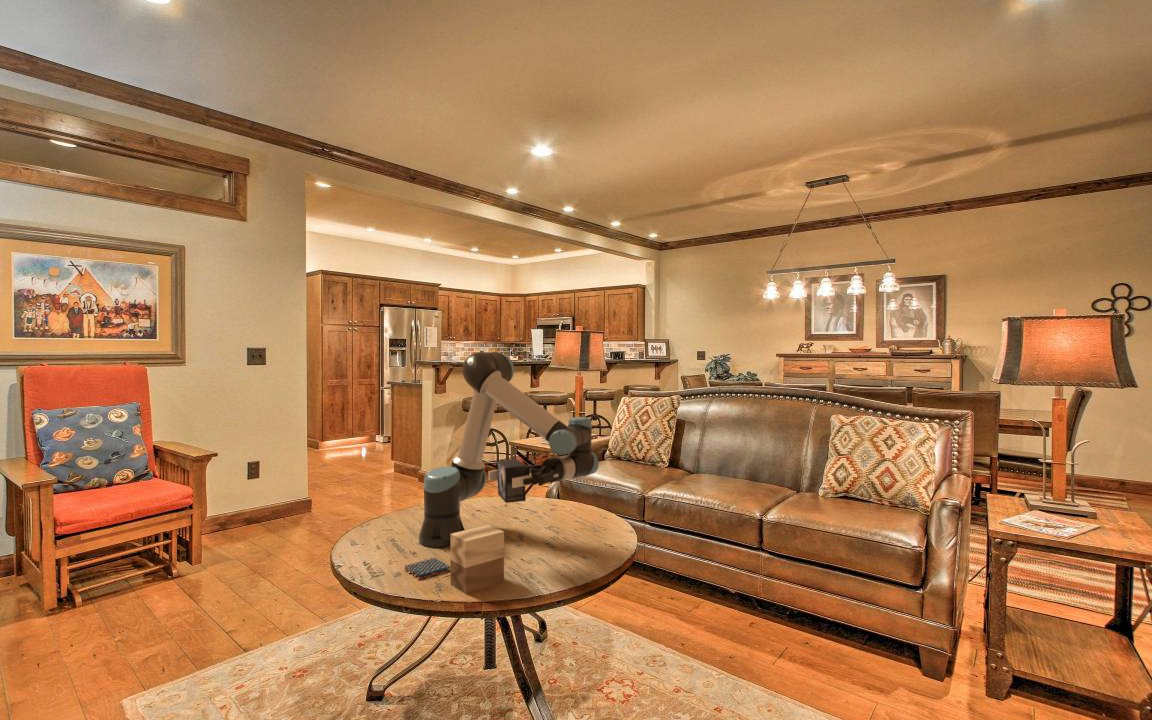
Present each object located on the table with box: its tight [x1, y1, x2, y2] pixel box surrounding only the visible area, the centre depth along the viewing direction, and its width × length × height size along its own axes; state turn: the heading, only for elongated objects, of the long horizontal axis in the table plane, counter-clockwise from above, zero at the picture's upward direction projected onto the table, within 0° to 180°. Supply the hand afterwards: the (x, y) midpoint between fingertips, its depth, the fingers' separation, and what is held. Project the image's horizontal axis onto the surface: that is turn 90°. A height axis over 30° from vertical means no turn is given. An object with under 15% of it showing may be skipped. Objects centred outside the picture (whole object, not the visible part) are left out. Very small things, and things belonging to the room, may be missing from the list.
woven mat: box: [404, 557, 450, 581], centre depth 162 cm, size 10×11×2 cm
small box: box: [497, 458, 527, 504], centre depth 166 cm, size 11×6×10 cm, turn 21°
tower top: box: [449, 524, 505, 568], centre depth 153 cm, size 8×12×7 cm, turn 131°
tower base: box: [449, 556, 505, 595], centre depth 153 cm, size 8×12×7 cm, turn 132°
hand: (500, 479), depth 164 cm, fingers closed on small box, 11 cm apart
